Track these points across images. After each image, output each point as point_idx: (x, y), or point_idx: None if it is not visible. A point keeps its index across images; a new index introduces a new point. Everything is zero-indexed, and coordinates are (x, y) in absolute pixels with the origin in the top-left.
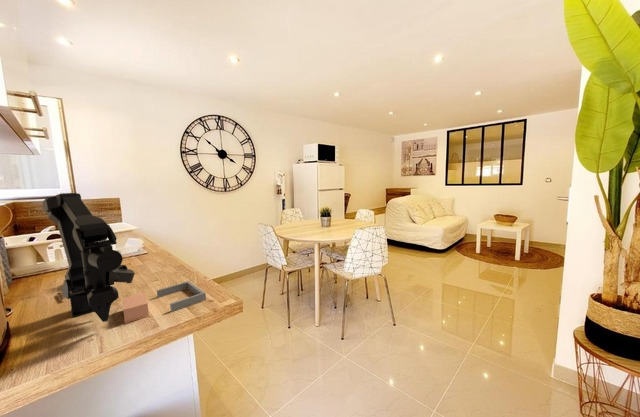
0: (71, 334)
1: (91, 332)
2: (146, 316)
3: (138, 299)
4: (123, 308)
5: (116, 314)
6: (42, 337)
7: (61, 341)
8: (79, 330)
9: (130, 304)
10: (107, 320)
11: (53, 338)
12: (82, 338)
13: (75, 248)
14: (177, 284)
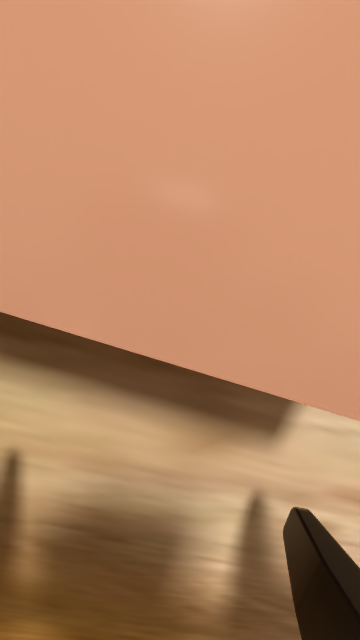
0: (121, 559)
1: (210, 504)
2: None
3: (193, 36)
4: (355, 417)
5: None
6: (23, 621)
7: (167, 597)
8: (104, 528)
9: (310, 285)
10: (307, 511)
11: (87, 604)
12: (243, 547)
13: None
14: None
